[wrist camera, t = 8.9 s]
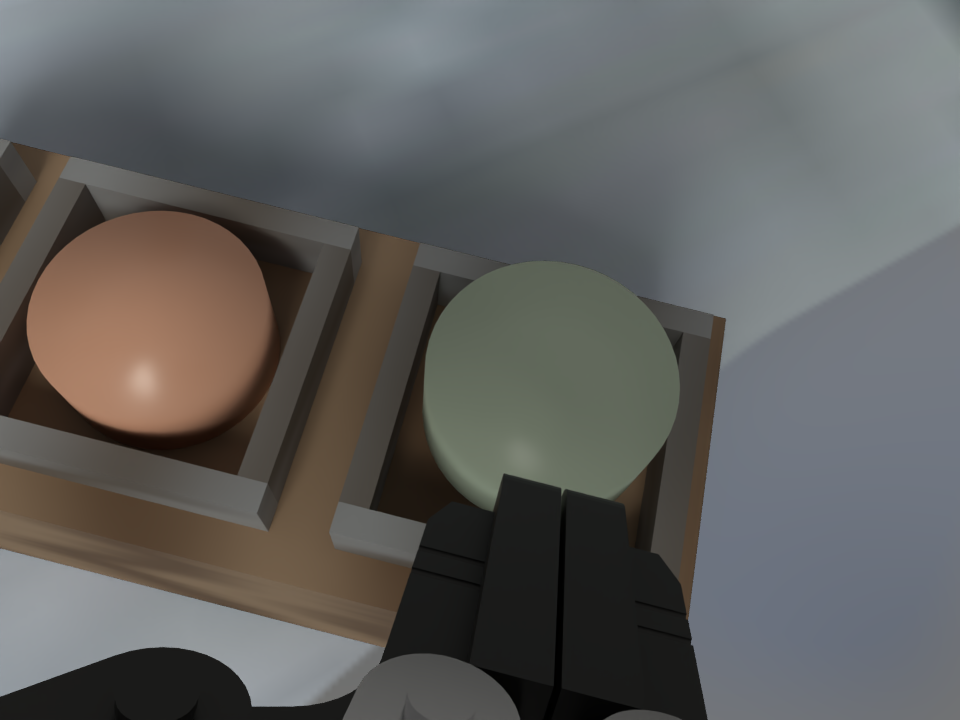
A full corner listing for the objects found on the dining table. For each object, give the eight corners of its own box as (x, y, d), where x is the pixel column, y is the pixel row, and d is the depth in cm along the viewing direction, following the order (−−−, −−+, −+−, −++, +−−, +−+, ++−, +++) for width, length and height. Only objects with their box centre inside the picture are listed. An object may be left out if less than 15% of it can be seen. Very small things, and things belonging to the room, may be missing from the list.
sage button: (395, 491, 16) (393, 459, 14) (453, 286, 18) (459, 236, 16) (631, 551, 16) (660, 527, 14) (665, 339, 18) (694, 294, 16)
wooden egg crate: (-226, 489, 24) (-549, 357, 16) (-76, 245, 28) (-278, 35, 19) (600, 702, 24) (704, 680, 15) (644, 426, 27) (749, 287, 19)
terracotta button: (26, 419, 18) (-17, 382, 16) (116, 239, 20) (87, 188, 18) (237, 473, 18) (219, 442, 16) (307, 287, 20) (297, 240, 18)
